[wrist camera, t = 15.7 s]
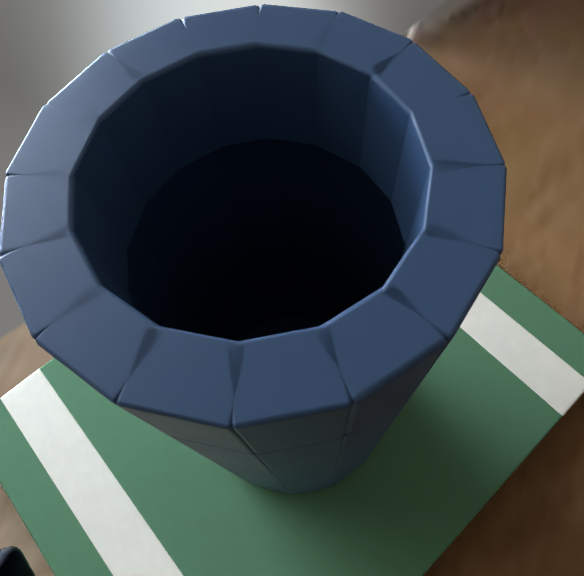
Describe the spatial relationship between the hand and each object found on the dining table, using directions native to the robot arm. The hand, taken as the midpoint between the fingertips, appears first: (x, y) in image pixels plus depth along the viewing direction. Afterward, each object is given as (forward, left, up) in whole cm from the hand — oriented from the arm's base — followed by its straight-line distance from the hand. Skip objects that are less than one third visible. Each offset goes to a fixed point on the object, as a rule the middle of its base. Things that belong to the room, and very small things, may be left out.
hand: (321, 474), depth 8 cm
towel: (+3, +3, -12) cm, 13 cm away
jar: (+3, +3, -11) cm, 11 cm away
